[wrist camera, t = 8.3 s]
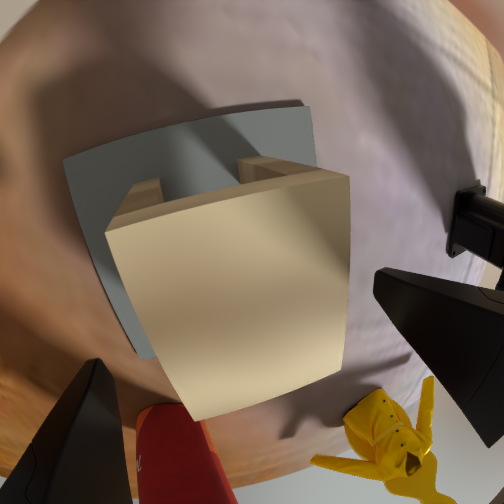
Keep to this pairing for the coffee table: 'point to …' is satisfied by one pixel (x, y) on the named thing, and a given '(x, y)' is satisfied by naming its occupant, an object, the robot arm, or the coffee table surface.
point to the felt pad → (175, 177)
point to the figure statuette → (391, 446)
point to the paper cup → (178, 459)
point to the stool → (240, 281)
